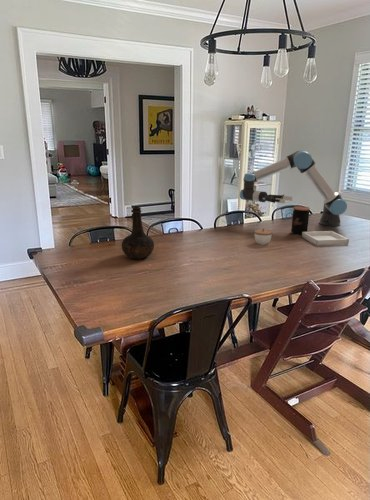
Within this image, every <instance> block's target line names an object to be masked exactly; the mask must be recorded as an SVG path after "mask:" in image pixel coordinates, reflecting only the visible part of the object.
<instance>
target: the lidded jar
mask: <svg viewBox="0 0 370 500" xmlns="http://www.w3.org/2000/svg"><path fill="white" fill-rule="evenodd" d="M272 236H273V231H272V230H269V229H265V228H262V229H255V230H254V240H255V241H256V243H257V244H258V245H263V246H264V245H265V246H267V245H268V244H269V242H271V240H272Z"/></svg>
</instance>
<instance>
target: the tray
mask: <svg viewBox="0 0 370 500" xmlns="http://www.w3.org/2000/svg"><path fill="white" fill-rule="evenodd" d="M301 238H303V239H304V240H307V241H308V242H310V243H311V244H312V245H314V246H316V247H319V246H321V247H323V246H345V245H346V246H347V245H349V242H350V239H349V238H348V237H345V236H343V235H341V234H339V233H337V232H335V231H333V230H321V231H320V230H318V231H314V230H313V231H307V232H302V235H301Z"/></svg>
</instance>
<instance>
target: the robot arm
mask: <svg viewBox="0 0 370 500" xmlns="http://www.w3.org/2000/svg"><path fill="white" fill-rule="evenodd" d="M293 168H297V170H298V171H299V172H300V174H302V175H303V174H304V175H305V177H306V178H307V179H308V180H309V182H310V183H311V184H312V186H313V187H314V189H315V190H316V191H317V192H318V194H319V195H320V196H321V198H322V199H323V206H322V207H323V209H322V215H321V217H320V218H319V222H318V223H319V224H320V225H322V226H326V227H327V226H329V227H338V226H341V218H340V216H341V215H343V214H344V213H346V210H347V209H348V203H347V201H346V200H344V199H343V197H342V194H340V193H339V192H335V190H333V188H332V187H331V185H330V184H329V183H328V181H327V180H326V179H325V177H324V176H323V175H322V173H321V172H320V171H319V170H318V168H317V166H316V161H315V160H314V159H313V158H312V155H311V154H310V152H308V151H306V150H297V151H295V152H293V153H291V154H289V155H287V156H285V158H283V159H281V160H279V161H276V162H273V163H272V164H270V165H267V166H265V167H262V168H260V169H258V170H256V171H253V172H249V173H244V177H243V179H242V180H243V189H241V190H240V191H239V192H240V193H239V198H240V199H241V200H244V201H250V202H251V201H253V202H256V203H257V202H260V203H266V202H268V203H272V204H275V203H280V204H285V203H286V201H293V196H290V195H288V196H287V195H285V194H268V192H267V191H260V190H255V183H256V182H258V181H261V180H264V179H266V178H268V177H271V176H273V175H276V174H278V173H280V172H282V171H285V170H288V169H290V170H291V169H293Z"/></svg>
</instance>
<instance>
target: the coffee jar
mask: <svg viewBox="0 0 370 500" xmlns="http://www.w3.org/2000/svg"><path fill="white" fill-rule="evenodd" d="M310 209H311V208H310V207H309V206H303V205H302V206H301V205H298V206H297V205H295V206H293V211H292V219H291V229H290V231H291V233H292V234H293V235H298V236H302V232H308V229H309V228H308V226H309V220H310V219H309V217H310Z"/></svg>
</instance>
